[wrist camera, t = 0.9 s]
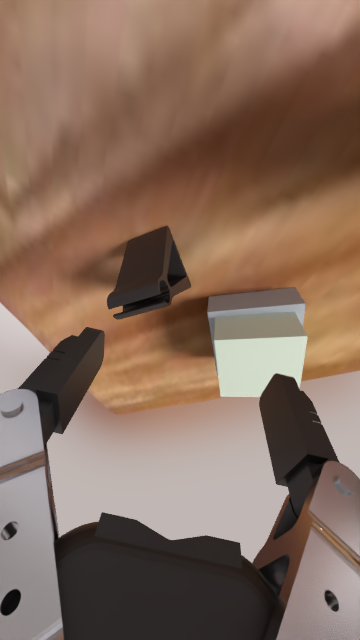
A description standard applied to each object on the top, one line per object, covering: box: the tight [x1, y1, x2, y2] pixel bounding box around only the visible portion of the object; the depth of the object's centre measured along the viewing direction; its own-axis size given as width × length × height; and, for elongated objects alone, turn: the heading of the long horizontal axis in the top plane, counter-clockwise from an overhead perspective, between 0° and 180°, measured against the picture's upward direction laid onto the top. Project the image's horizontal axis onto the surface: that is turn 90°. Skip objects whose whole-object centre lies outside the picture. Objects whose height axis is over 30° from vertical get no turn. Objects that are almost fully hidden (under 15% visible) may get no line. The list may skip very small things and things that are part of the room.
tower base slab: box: [207, 287, 305, 376], centre depth 34 cm, size 12×12×5 cm
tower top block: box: [214, 312, 308, 397], centre depth 30 cm, size 10×10×5 cm
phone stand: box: [107, 226, 191, 319], centre depth 28 cm, size 9×6×12 cm, turn 21°
